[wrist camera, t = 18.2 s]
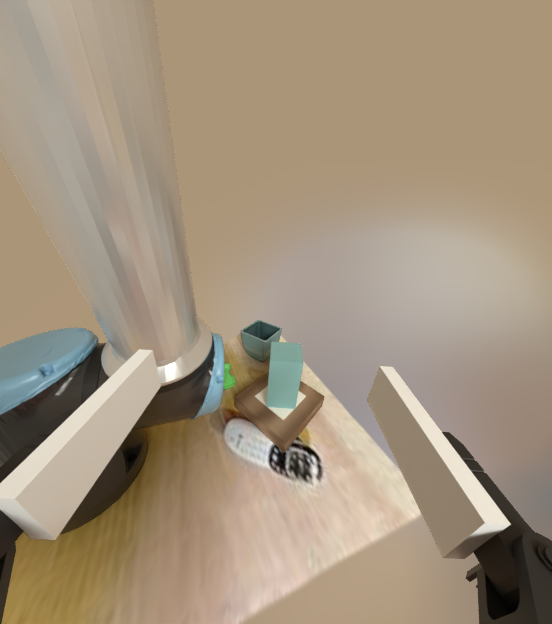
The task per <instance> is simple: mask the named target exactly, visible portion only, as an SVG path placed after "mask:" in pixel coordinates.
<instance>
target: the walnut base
mask: <svg viewBox="0 0 552 624" xmlns="http://www.w3.org/2000/svg"><path fill="white" fill-rule="evenodd" d="M268 379H269V372H268V373H267V374H265V375H264V376H263V377H261V378H260V379H259V380H257V381H256V382H255V383H253V384H252V385H250V386H249V387H248V388H246V389H245V390H244V391H242V392H241V393H239V394H238V395H237V396H235V407H236V408H237V409H238V410H239V411H240V412H241V413H242V414H243V415H244V416H246V417H247V418H248V419H249V420H250V421H251V422H252V423H253V424H254V425H255V426H256V427H257V428H258V429H259V430H260V431H261V432H263V433H264V434H265V435H266V436H267V437H268V438H269V439H270V440H271V441H272V442H273V443H274V444H275V445H276V446H277V447H278V448H280V449H281V450H282V451H283V452H284V453H285V452H286V450H287V449H288V448H289V447H290V445H291V444H292V443H293V442H294V440H295V439H296V438H297V437H298V435H299V434H300V433H301V432H302V430H303V429H304V428H305V427H306V425H307V424H308V423H309V422H310V420H311V419H312V418H313V417H314V415H315V414H316V413H317V412H318V410H319V409H320V408H321V407H322V404H323V400H324V396H323V395H321V394H320V393H318V392H317V391H315V390H314V389H312V388H311V387H309V386H307V385H306V384H304V383H303V382H301V381H300V385H299V391H298V397H297V403H296V408H295V409H287V408H274V407H266V403H267V391H268Z"/></svg>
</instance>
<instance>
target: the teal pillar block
mask: <svg viewBox="0 0 552 624" xmlns="http://www.w3.org/2000/svg"><path fill="white" fill-rule="evenodd" d="M301 351H302V350H301V344H297V343H296V344H295V343H284V342H271V354H270V366H269V379H268V391H267V403H266V407H274V408H287V409H295V408H296V403H297V397H298V391H299V385H300V380H301V374H302V368H303V357H302V352H301Z"/></svg>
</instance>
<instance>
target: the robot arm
mask: <svg viewBox="0 0 552 624" xmlns="http://www.w3.org/2000/svg"><path fill="white" fill-rule="evenodd" d="M0 151H1V152H2V154H3V156H4V158H5V159H6V161H7V163H8V164H9V167H10V168H11V170H12V172H13V174H14V175H15V177H16V179H17V181H18V182H19V184H20V186H21V188H22V189H23V191H24V193H25V195H26V196H27V198H28V200H29V202H30V203H31V205H32V207H33V209H34V211H35V212H36V214H37V216H38V218H39V219H40V221H41V223H42V225H43V226H44V228H45V230H46V232H47V233H48V235H49V237H50V239H51V240H52V242H53V244H54V246H55V247H56V249H57V251H58V253H59V254H60V256H61V258H62V259H63V261H64V263H65V265H66V267H67V268H68V270H69V272H70V274H71V275H72V277H73V279H74V281H75V283H76V284H77V286H78V288H79V290H80V291H81V293H82V295H83V297H84V298H85V300H86V302H87V304H88V305H89V307H90V309H91V311H92V312H93V314H94V316H95V318H96V319H97V321H98V323H99V325H100V326H101V328H102V330H103V332H104V334H105V335H106V337H107V339H108V341H107V343H98V337H97V336H96V335H94V334H93V332H92V331H89V330H87V329H84V328H65V329H59V330H53V331H49V332H45V333H41V334H37V335H34V336H31V337H27V338H25V339H21V340H19V341H16V342H14V343H11V344H8V345H6V346H3V347H1V348H0V624H1V623H2V618H3V613H4V607H5V602H6V597H7V592H8V587H9V582H10V577H11V572H12V567H13V562H14V557H15V552H16V546H15V541H16V540H17V539H18V537H19V536H20V535H21V534H22V532H24V533H26V534H27V535H28V536H29V537H30V538H31V539H44V540H56V538H57V537H58V536H59V534H62V533H66V532H68V531H71V530H73V529H76V528H78V527H80V526H82V525H84V524H85V523H87V522H89V521H91V520H92V519H94V518H95V517H97V516H98V515H100V514H101V513H102V512H104V511H105V510H106V509H107V508H109V507H110V506H111V505H112V504H113V503H114V502H115V501H116V500H118V499H119V498H120V497H121V495H122V494H123V493H124V492H125V491H126V490H127V489H128V488H129V486H130V485H131V484H132V482H133V481H134V480H135V478H136V477H137V475H138V473H139V472H140V470H141V468H142V466H143V463H144V461H145V458H146V454H147V439H146V436H145V433H144V430H143V428H145V427H150V426H155V425H160V424H165V423H170V422H175V421H180V420H185V419H190V420H192V419H196V418H198V417H199V416H203V415H207V414H211V413H213V412H215V411H216V410H217V409H218V407H219V406H220V404H221V401H222V396H223V388H224V378H223V376H224V347H223V341H222V337H221V336H220V335H219V334H214V333H211V331H210V329H209V327H208V325H207V324H206V323H205V322H204V321H203V320H202V319H200V318H199V317H197V315H196V308H195V300H194V293H193V286H192V278H191V272H190V264H189V257H188V249H187V243H186V236H185V228H184V220H183V213H182V206H181V198H180V191H179V184H178V177H177V169H176V162H175V156H174V148H173V141H172V133H171V126H170V119H169V111H168V104H167V97H166V90H165V82H164V75H163V67H162V60H161V53H160V46H159V39H158V31H157V24H156V17H155V10H154V2H153V0H0ZM367 401H368V403H369V405H370V407H371V409H372V411H373V413H374V415H375V417H376V420H377V422H378V424H379V426H380V428H381V430H382V432H383V434H384V436H385V438H386V440H387V443H388V445H389V447H390V449H391V451H392V453H393V455H394V457H395V459H396V461H397V463H398V465H399V468H400V470H401V472H402V474H403V476H404V478H405V480H406V482H407V484H408V486H409V488H410V490H411V493H412V495H413V497H414V499H415V501H416V503H417V505H418V507H419V509H420V511H421V513H422V515H423V518H424V520H425V522H426V524H427V526H428V528H429V530H430V532H431V534H432V536H433V538H434V541H435V543H436V545H437V547H438V549H439V551H440V553H441V555H442V557H443V558H455V559H465V558H466V557H468V556H469V555H470V554H472V553H473V552H474V554H475V555H476V557H477V559H478V561H479V562H480V564H478V565H477V566H475V567H474V568H472V569H471V570H469V571H468V572H467V576H466V579H467V580H468V581H469V582H471V581H472V580H474V579H475V578H477V580H478V584H477V586H476V587H477V588H478V604H479V624H552V541H551V540H549V539H548V538H546V537H544V536H542V535H540V534H538V533H535V532H534V531H533V530H532V529H531V528H530V527H529V525H528V524H527V523H526V522H525V521H524V520H523V518H521V516H520V515H519V514H518V512H517V511H516V510H515V509H514V507H513V506H512V505H511V504H510V502H509V501H508V500H507V499H506V497H505V496H504V495H503V494H502V493H501V491H500V490H499V489H498V487H497V486H496V485H495V484H494V482H493V481H492V480H491V479H490V478H489V476H488V475H487V474H486V473H484V470H483V469H482V468H481V466H480V465H479V464H478V463H477V461H475V460H474V458H473V456H472V455H471V454H470V453H469V451H468V450H467V449H466V448H465V446H464V445H463V444H462V443H461V442H459V441H458V440H457V439H456V438H455V437H454V436H453V435H451V434H450V433H449V432H441V431H440V430H439V428H438V427H437V425H436V424H435V423H434V421H433V420H432V419H431V417H430V416H429V415H428V413H427V412H426V411H425V409H424V408H423V407H422V405H421V404H420V403H419V401H418V400H417V399H416V397H415V396H414V395H413V393H412V392H411V391H410V389H409V388H408V387H407V385H406V384H405V383H404V381H403V380H402V379H401V377H400V376H399V375H398V374H397V372H396V371H395V369H394V368H393V367H383V366H380V367H379V370H378V372H377V375H376V377H375V380H374V382H373V385H372V388H371V390H370V393H369V395H368V398H367Z"/></svg>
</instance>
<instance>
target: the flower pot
mask: <svg viewBox="0 0 552 624" xmlns="http://www.w3.org/2000/svg"><path fill="white" fill-rule="evenodd" d="M281 331H282V328H280V327H277V326H274V325H271V324H268V323H266V322H263V321H260V320H257V321H256V322H254V323H253V324H251V325H249V326H248V327H246V328H244V329H243V330H241V336H242V342H243V346H244V349H245V350H246V352H247V353H248V354H249V355H250V356H252V357H254V358H256V359H258V360H260V361H264V360H265V359H266V358H268V357H269V356H270V354H271V342H279V339H280V335H281Z"/></svg>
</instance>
